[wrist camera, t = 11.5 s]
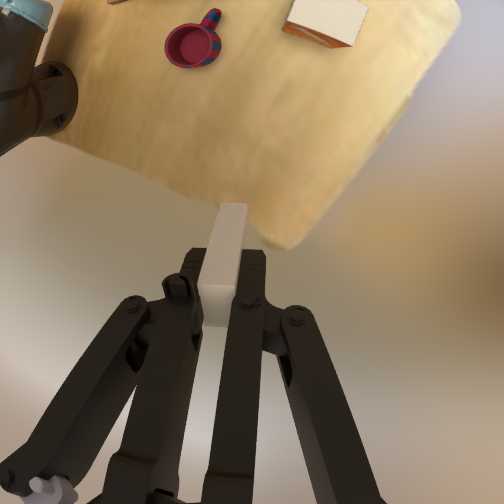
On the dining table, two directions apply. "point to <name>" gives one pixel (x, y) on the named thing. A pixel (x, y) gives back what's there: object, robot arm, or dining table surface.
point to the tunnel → (114, 1)
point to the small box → (326, 21)
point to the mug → (194, 42)
